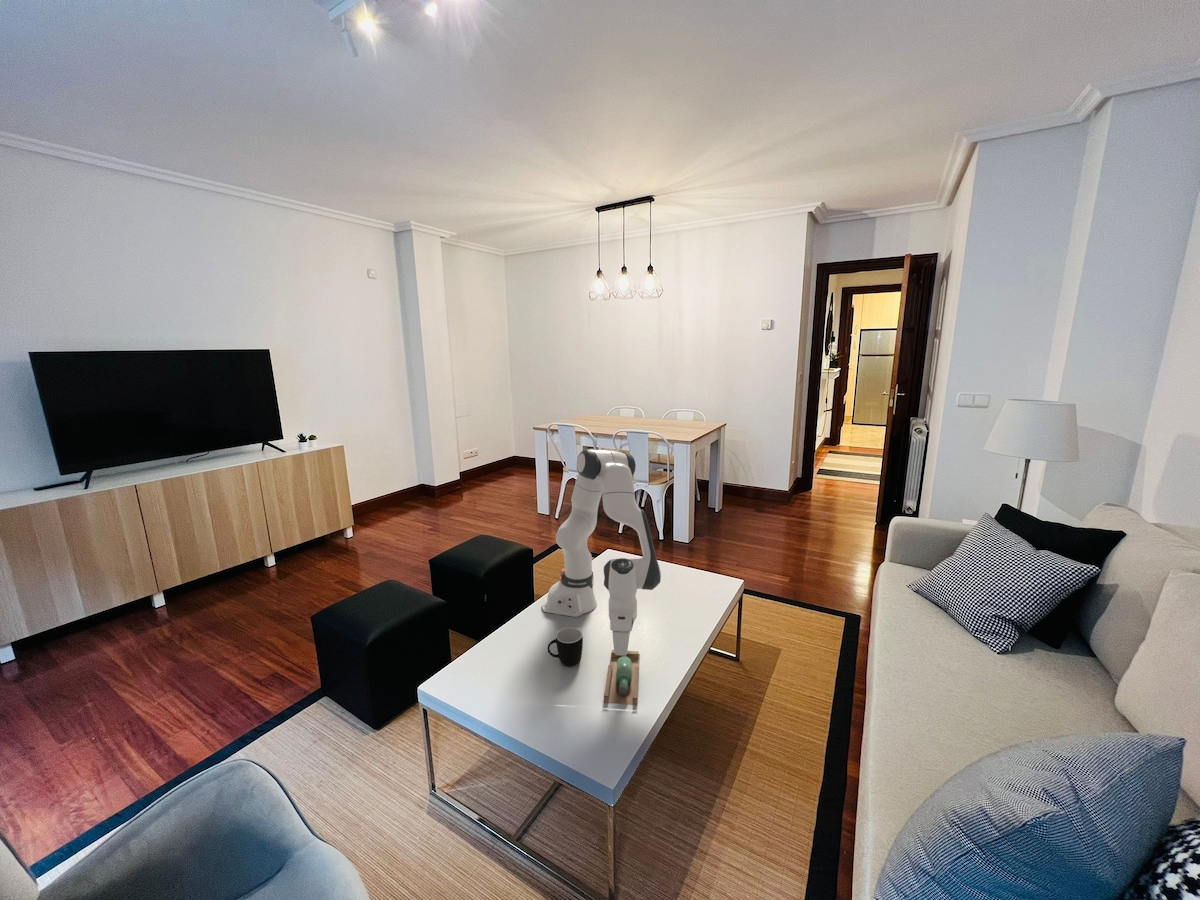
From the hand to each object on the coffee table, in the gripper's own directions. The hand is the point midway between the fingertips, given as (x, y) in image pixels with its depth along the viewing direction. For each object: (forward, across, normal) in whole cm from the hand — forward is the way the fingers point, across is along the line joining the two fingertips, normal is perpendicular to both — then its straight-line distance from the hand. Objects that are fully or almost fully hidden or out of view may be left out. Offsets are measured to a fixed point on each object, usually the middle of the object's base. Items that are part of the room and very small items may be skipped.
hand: (623, 649), depth 153 cm
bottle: (+7, -4, 0) cm, 8 cm away
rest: (+10, 0, 0) cm, 10 cm away
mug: (+10, -6, -20) cm, 23 cm away
